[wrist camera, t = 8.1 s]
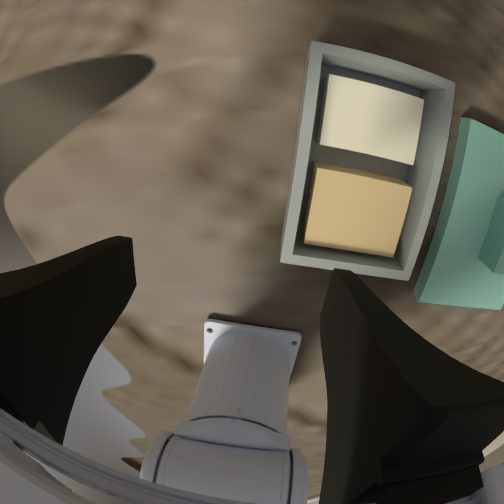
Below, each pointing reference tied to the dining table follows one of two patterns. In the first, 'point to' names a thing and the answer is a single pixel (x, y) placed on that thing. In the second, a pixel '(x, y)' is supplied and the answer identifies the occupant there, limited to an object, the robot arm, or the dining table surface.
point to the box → (364, 162)
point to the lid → (469, 226)
